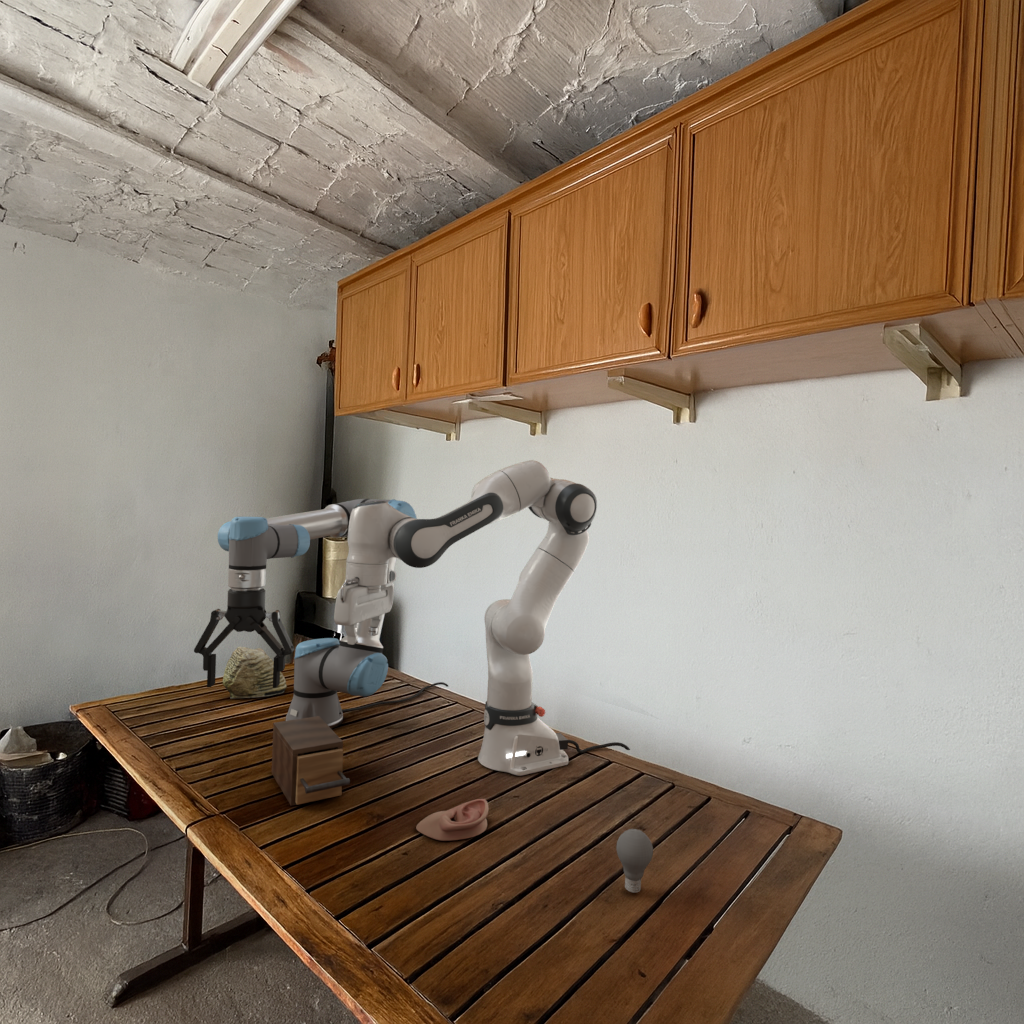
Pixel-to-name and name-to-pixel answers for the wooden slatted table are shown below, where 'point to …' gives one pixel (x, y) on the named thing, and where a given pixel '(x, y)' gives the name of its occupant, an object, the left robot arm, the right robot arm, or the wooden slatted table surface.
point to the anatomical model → (456, 821)
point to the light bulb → (634, 857)
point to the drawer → (319, 775)
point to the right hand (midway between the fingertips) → (363, 639)
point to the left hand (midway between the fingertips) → (243, 685)
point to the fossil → (251, 674)
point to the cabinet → (298, 748)
